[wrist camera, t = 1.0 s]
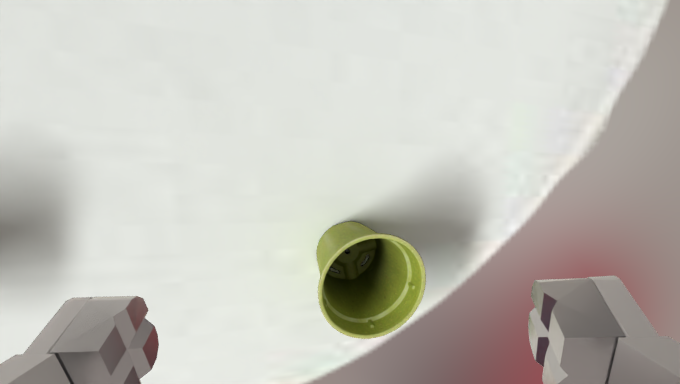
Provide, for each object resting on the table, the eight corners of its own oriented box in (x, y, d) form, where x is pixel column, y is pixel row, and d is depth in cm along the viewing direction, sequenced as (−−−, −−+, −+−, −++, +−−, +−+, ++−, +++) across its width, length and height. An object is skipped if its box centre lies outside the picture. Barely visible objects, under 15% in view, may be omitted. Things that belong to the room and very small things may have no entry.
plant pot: (408, 228, 50) (446, 261, 42) (362, 307, 51) (390, 353, 43) (330, 188, 47) (355, 215, 39) (282, 272, 48) (297, 316, 40)
